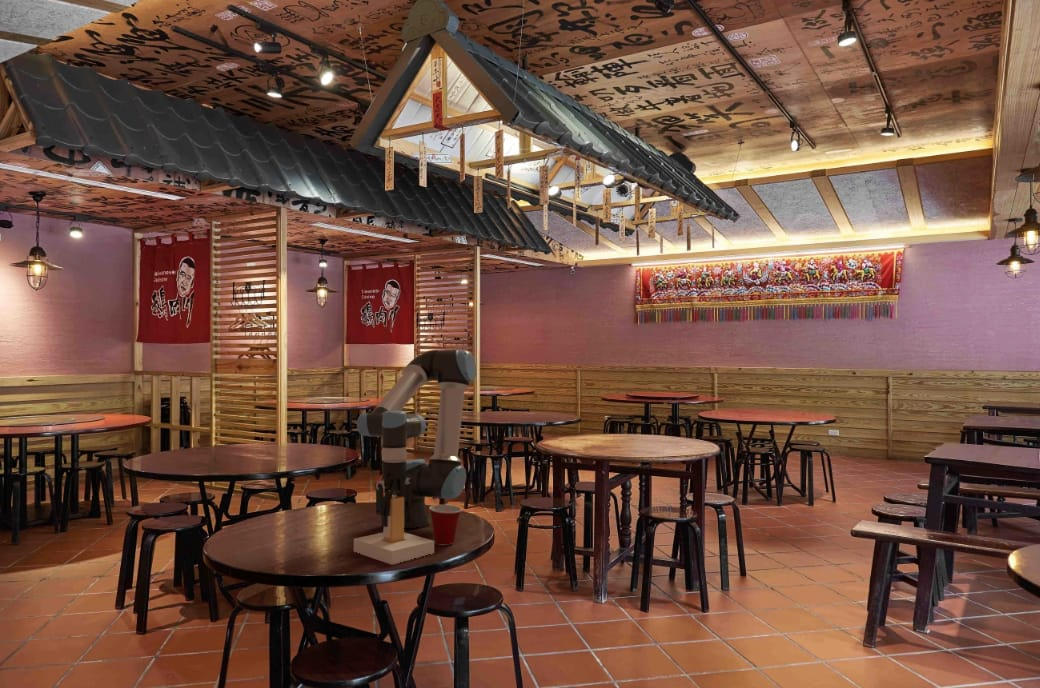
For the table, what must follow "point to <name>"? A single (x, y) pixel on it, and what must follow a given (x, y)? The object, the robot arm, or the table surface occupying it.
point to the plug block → (396, 519)
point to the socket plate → (393, 548)
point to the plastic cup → (445, 522)
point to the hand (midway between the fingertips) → (393, 535)
